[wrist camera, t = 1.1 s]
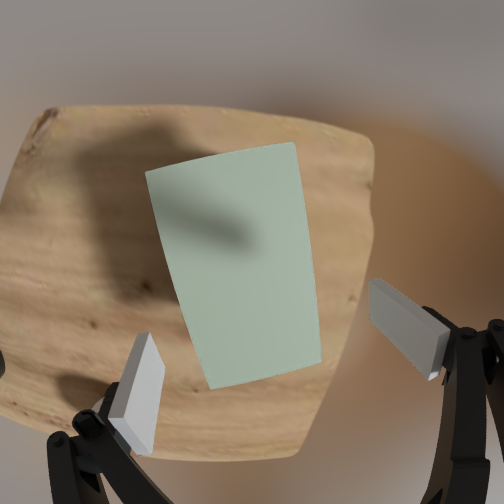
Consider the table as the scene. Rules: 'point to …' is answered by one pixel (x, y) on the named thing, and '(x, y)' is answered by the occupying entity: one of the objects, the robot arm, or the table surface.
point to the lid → (240, 261)
